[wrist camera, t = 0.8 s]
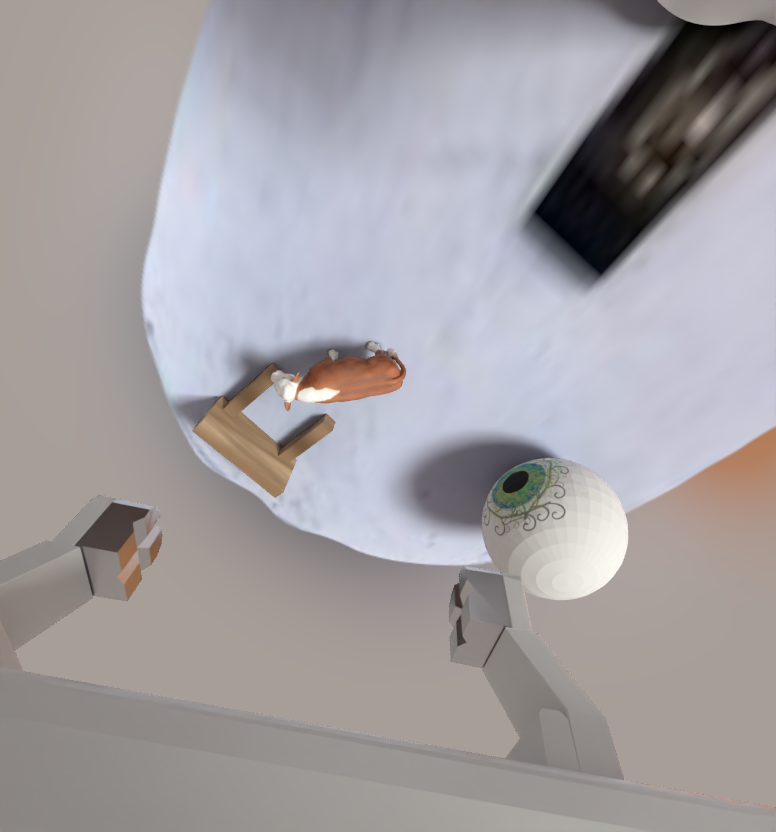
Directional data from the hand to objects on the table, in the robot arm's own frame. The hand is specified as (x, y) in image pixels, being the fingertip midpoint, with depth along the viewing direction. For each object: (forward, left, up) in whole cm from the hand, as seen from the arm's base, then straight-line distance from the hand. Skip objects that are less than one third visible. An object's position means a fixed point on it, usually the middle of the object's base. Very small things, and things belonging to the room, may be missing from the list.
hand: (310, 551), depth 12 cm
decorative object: (+5, +32, -37) cm, 49 cm away
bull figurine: (+12, +5, -37) cm, 39 cm away
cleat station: (+23, +5, -37) cm, 44 cm away
